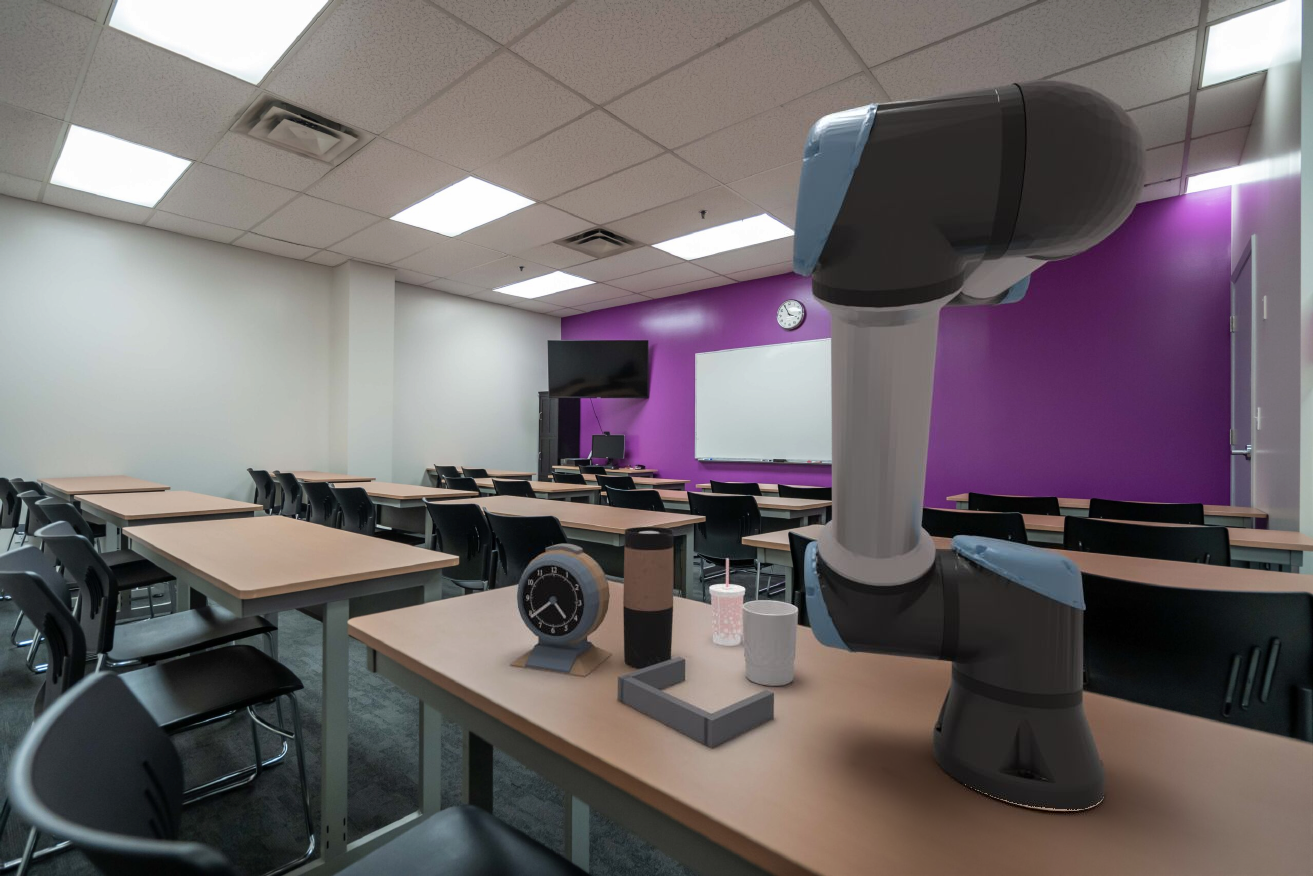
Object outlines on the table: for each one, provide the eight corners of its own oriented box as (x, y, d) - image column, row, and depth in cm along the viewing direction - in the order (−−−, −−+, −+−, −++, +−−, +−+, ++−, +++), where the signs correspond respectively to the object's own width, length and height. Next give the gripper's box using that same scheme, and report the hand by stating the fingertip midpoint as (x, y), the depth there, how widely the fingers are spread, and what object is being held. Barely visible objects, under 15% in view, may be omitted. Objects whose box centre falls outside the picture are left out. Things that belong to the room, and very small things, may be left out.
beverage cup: (751, 640, 101) (752, 558, 102) (732, 649, 97) (733, 563, 97) (721, 633, 105) (722, 553, 105) (701, 641, 101) (702, 558, 101)
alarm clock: (504, 665, 89) (506, 546, 89) (537, 644, 98) (539, 537, 98) (591, 678, 84) (593, 553, 84) (618, 655, 93) (619, 542, 94)
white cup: (732, 670, 88) (733, 602, 88) (780, 664, 90) (780, 598, 90) (757, 691, 80) (757, 616, 81) (808, 684, 83) (808, 612, 83)
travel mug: (616, 655, 93) (618, 527, 94) (661, 650, 96) (663, 526, 96) (631, 673, 86) (633, 534, 86) (680, 666, 89) (681, 532, 89)
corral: (679, 677, 85) (679, 656, 85) (773, 717, 73) (774, 692, 73) (617, 699, 77) (617, 676, 77) (711, 748, 65) (712, 720, 65)
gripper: (873, 373, 98) (868, 516, 97) (821, 362, 91) (816, 517, 90) (915, 368, 92) (911, 521, 91) (864, 356, 85) (859, 522, 83)
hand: (864, 519), depth 90 cm, fingers closed
